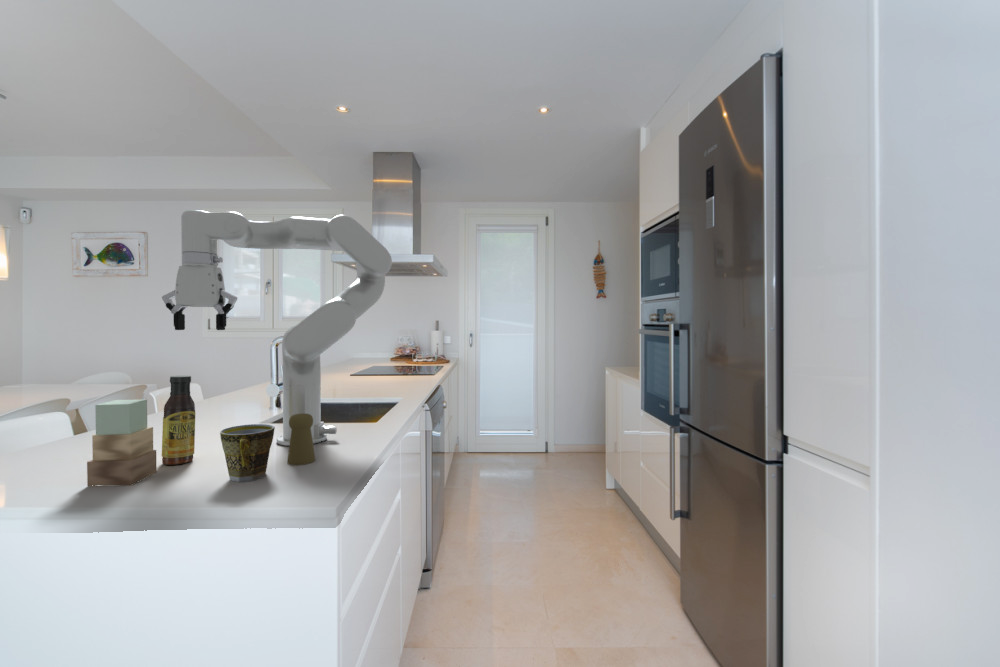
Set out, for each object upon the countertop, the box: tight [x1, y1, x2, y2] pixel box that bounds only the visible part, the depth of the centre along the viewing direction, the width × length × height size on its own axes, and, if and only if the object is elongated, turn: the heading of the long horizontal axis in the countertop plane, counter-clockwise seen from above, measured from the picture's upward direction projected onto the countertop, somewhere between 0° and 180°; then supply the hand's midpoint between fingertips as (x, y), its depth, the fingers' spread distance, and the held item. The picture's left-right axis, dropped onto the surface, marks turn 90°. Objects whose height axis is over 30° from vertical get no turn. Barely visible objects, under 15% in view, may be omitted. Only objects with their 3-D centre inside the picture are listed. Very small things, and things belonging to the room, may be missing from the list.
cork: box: [286, 413, 316, 466], centre depth 109 cm, size 6×6×11 cm
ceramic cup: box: [219, 423, 275, 483], centre depth 96 cm, size 13×10×10 cm
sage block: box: [94, 398, 148, 435], centre depth 96 cm, size 6×6×6 cm
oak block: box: [91, 426, 154, 461], centre depth 96 cm, size 7×7×5 cm
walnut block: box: [86, 449, 157, 487], centre depth 96 cm, size 8×8×5 cm
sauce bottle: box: [161, 375, 196, 466], centre depth 108 cm, size 7×6×20 cm
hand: (200, 329), depth 118 cm, fingers open, 9 cm apart
